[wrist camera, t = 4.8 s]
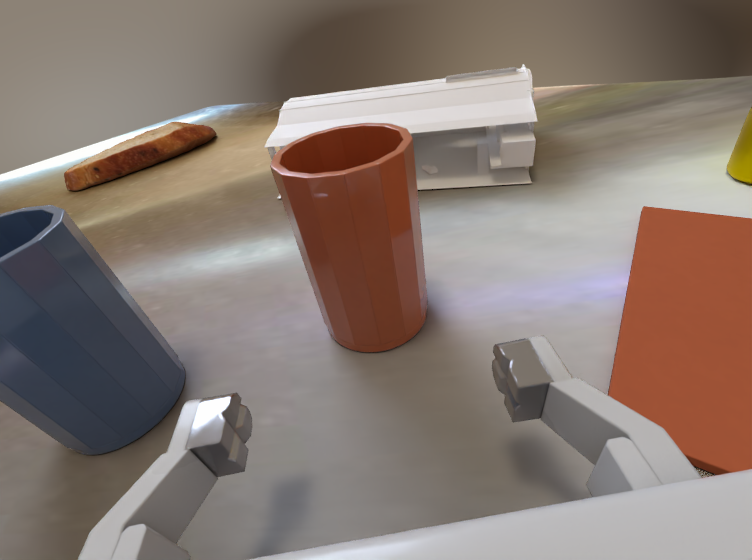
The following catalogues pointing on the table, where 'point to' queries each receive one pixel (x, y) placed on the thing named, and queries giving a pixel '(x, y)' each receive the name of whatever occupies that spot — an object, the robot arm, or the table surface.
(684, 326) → the terracotta mat
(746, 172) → the element tile
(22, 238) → the blue cup
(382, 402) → the table surface
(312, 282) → the terracotta cup
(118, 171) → the bread slice
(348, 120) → the model shed
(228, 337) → the table surface
